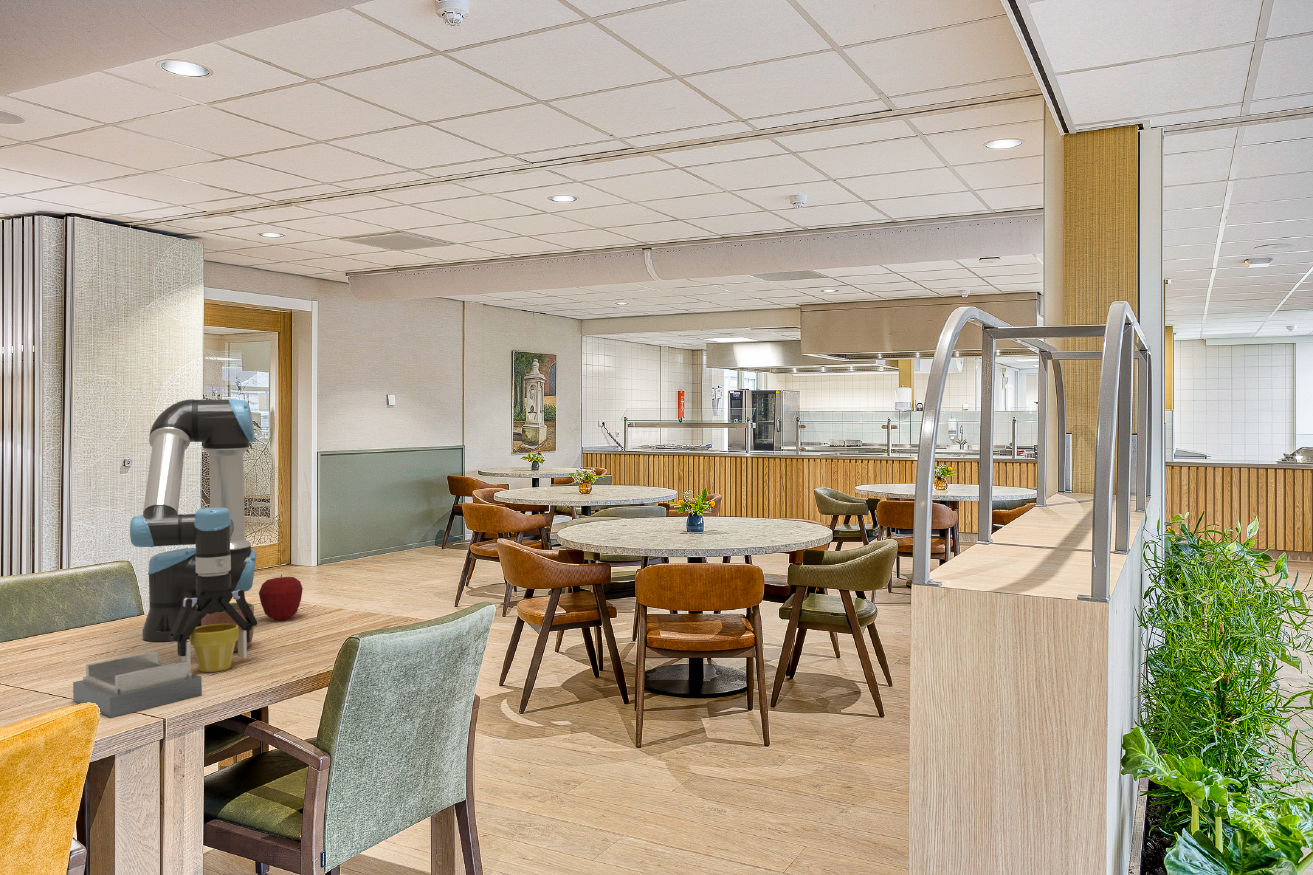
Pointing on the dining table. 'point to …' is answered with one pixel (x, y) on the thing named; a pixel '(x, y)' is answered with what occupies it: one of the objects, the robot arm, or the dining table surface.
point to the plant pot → (214, 646)
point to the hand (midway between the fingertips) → (214, 663)
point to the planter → (227, 620)
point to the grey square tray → (135, 684)
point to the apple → (281, 597)
